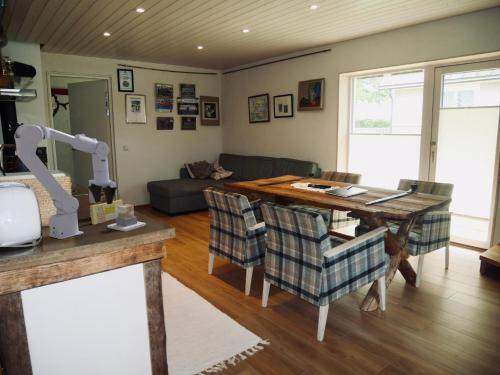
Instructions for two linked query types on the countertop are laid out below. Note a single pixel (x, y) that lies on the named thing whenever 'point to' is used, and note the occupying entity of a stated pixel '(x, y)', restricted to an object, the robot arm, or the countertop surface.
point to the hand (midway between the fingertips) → (103, 203)
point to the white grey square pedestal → (126, 224)
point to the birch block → (125, 211)
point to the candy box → (105, 212)
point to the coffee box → (92, 201)
